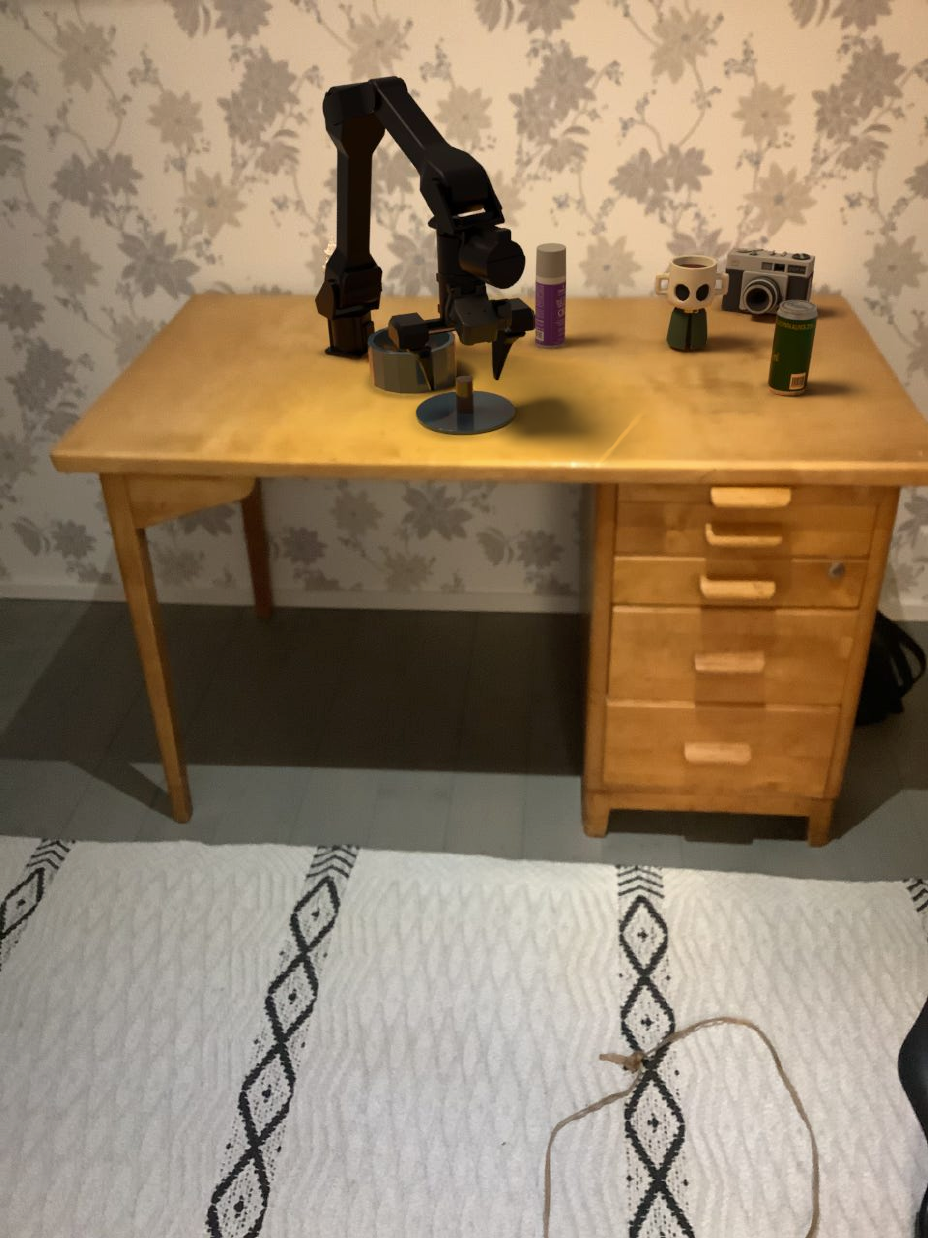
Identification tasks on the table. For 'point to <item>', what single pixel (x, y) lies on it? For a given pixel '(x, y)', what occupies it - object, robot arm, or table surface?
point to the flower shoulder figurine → (329, 251)
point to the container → (550, 295)
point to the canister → (410, 363)
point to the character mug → (690, 297)
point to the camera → (766, 280)
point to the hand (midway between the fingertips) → (464, 384)
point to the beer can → (792, 347)
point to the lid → (465, 410)
